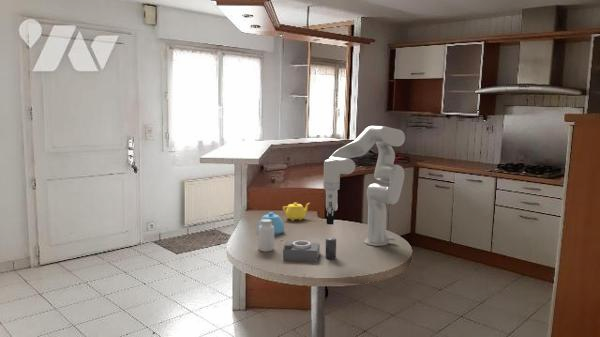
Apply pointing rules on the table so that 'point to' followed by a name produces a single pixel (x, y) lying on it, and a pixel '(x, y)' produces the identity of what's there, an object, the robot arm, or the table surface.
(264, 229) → the pill bottle
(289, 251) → the camera body
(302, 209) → the teapot
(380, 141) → the robot arm
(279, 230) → the sugar bowl
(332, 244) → the lens
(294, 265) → the table surface
